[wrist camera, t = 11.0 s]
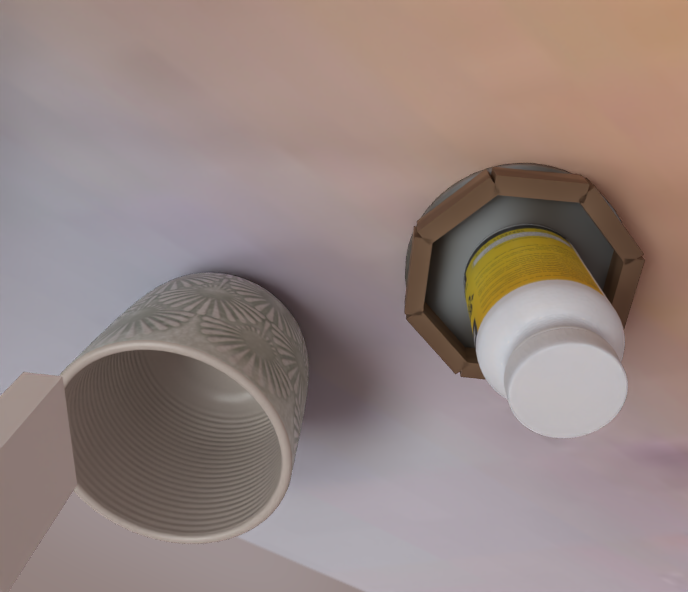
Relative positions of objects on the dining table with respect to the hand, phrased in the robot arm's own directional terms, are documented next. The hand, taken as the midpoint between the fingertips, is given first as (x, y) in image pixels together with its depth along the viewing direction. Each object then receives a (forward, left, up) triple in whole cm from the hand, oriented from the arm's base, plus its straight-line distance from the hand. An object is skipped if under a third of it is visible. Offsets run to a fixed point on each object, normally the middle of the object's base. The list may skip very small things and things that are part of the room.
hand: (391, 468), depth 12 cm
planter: (-10, -12, -25) cm, 29 cm away
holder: (+7, -5, -24) cm, 26 cm away
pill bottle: (+7, -5, -24) cm, 25 cm away
